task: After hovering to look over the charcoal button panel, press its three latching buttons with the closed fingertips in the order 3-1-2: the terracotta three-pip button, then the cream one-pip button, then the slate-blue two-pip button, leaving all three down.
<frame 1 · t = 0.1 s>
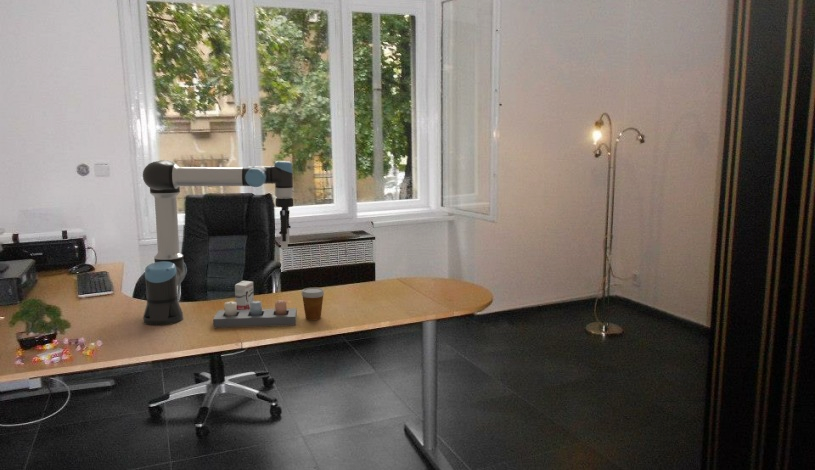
hand: (285, 245, 258), 28 cm above the table, fingers open, 13 cm apart
slate button 2: (256, 308, 242), point 6 cm above the table, slide at 0.0 cm
terracotta button 3: (280, 307, 243), point 6 cm above the table, slide at 0.0 cm
ink box: (245, 309, 260), on the table
disposable coffee cup: (313, 318, 249), on the table
button panel: (256, 321, 243), on the table
cream button 1: (230, 308, 240), point 6 cm above the table, slide at 0.0 cm
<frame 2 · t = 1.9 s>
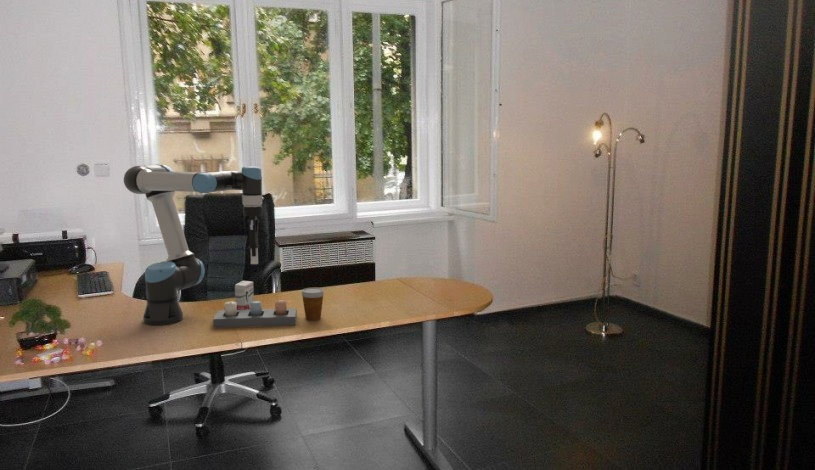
hand: (254, 263, 238), 24 cm above the table, fingers closed
nothing on the table moved.
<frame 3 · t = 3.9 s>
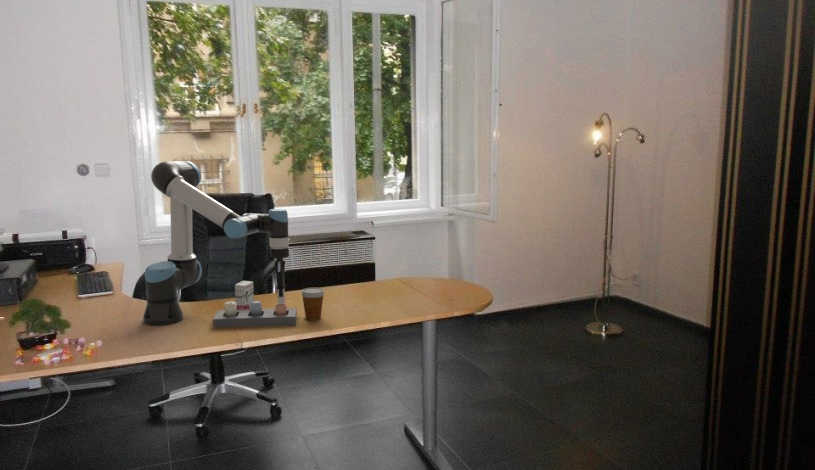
hand: (281, 303, 243), 7 cm above the table, fingers closed
terracotta button 3: (280, 310, 243), point 5 cm above the table, slide at 1.2 cm, touching gripper
everything else where it was.
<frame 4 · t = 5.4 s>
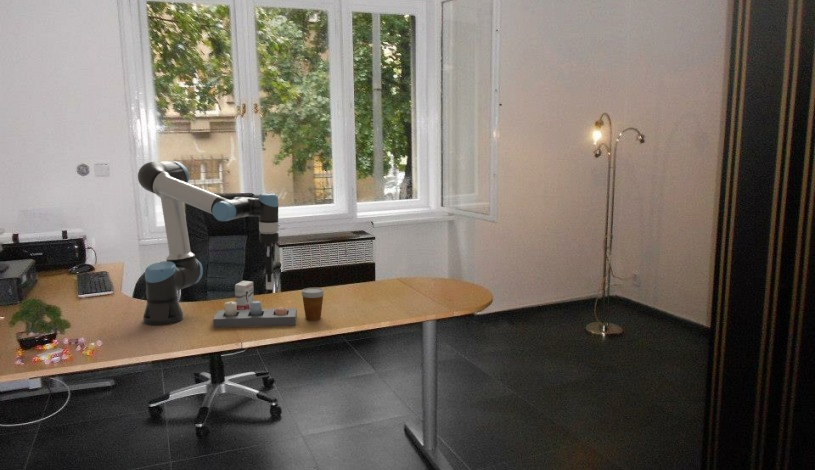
hand: (269, 288, 241), 14 cm above the table, fingers closed
terracotta button 3: (281, 314, 243), point 3 cm above the table, slide at 3.1 cm
everything else where it was.
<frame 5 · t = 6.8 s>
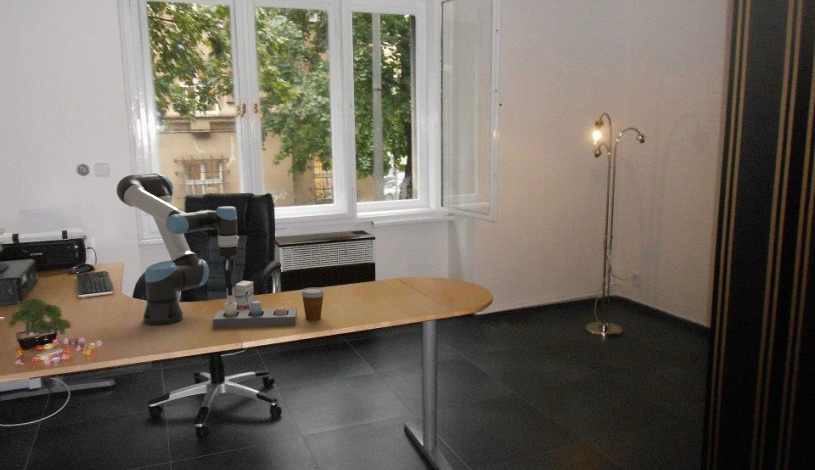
hand: (231, 302, 240), 9 cm above the table, fingers closed
cream button 1: (230, 309, 240), point 6 cm above the table, slide at 0.1 cm, touching gripper
everything else where it was.
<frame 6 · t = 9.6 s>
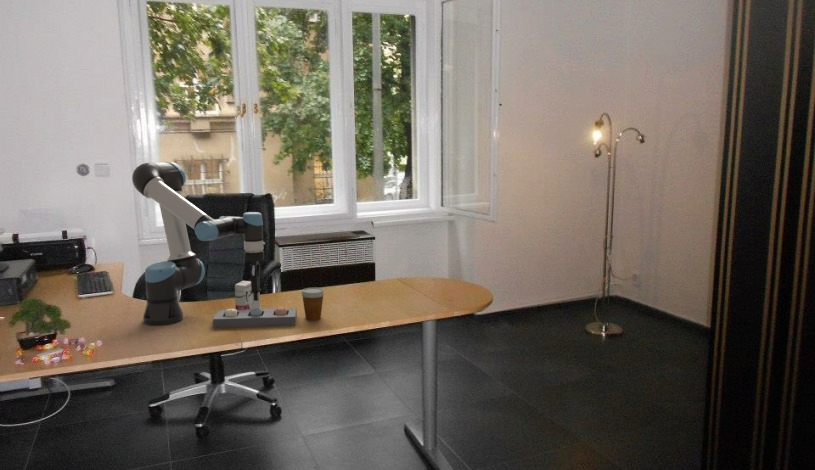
hand: (256, 307, 241), 6 cm above the table, fingers closed
slate button 2: (256, 314, 242), point 3 cm above the table, slide at 2.5 cm, touching gripper
cream button 1: (231, 316, 241), point 3 cm above the table, slide at 3.1 cm
everything else where it was.
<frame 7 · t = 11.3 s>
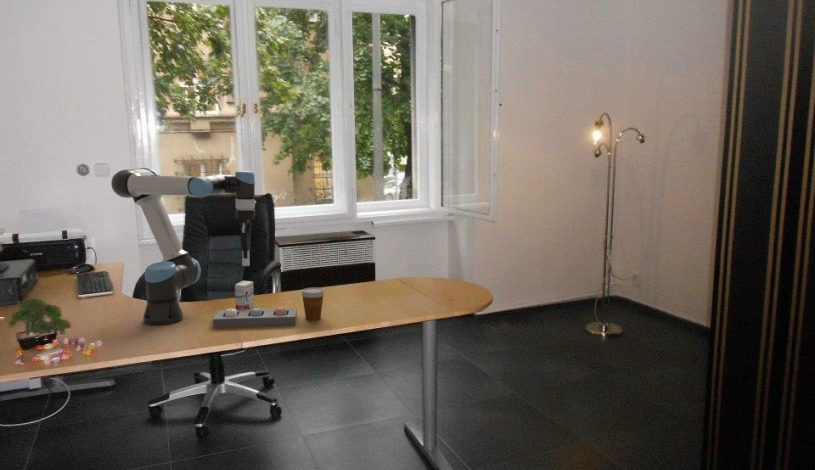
hand: (245, 265, 245), 22 cm above the table, fingers closed
slate button 2: (256, 315, 242), point 3 cm above the table, slide at 3.1 cm
everything else where it was.
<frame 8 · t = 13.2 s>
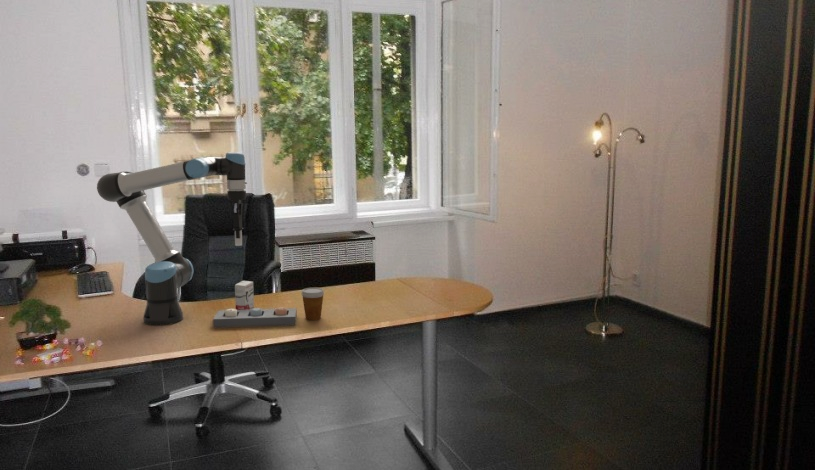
hand: (238, 245, 250), 29 cm above the table, fingers closed
nothing on the table moved.
at the end: terracotta button 3 slide at 3.1 cm; cream button 1 slide at 3.1 cm; slate button 2 slide at 3.1 cm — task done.
